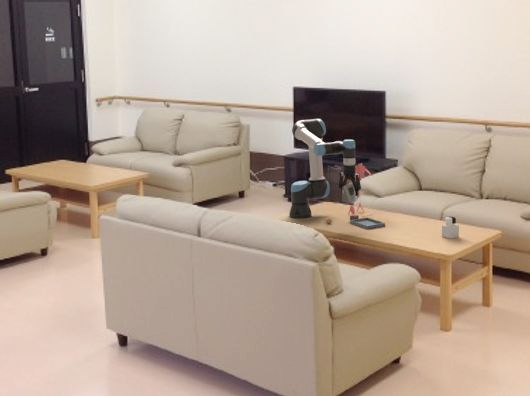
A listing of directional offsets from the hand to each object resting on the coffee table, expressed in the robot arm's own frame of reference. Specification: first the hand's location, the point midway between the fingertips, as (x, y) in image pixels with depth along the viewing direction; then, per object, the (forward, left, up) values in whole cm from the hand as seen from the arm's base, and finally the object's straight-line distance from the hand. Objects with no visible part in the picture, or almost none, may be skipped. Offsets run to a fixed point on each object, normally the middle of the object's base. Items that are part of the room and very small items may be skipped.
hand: (350, 199), depth 497 cm
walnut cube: (-11, +11, -18) cm, 23 cm away
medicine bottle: (+55, +34, -18) cm, 67 cm away
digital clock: (+1, 0, -1) cm, 1 cm away
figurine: (-25, +25, -18) cm, 40 cm away
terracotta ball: (-15, -6, -17) cm, 24 cm away
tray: (+2, +12, -17) cm, 21 cm away
